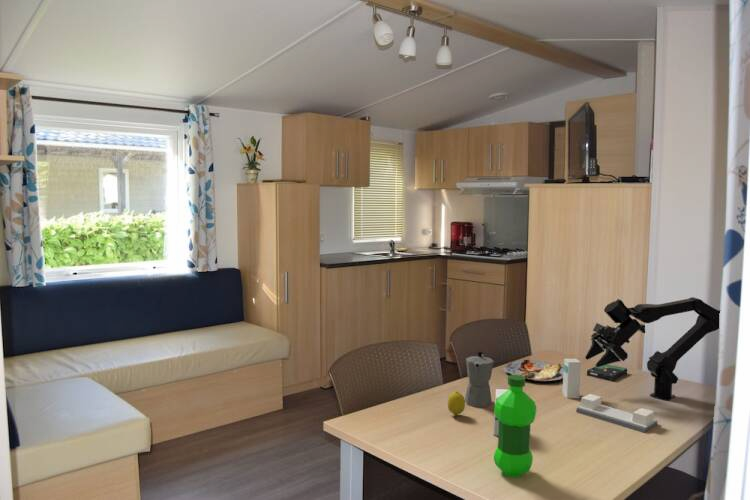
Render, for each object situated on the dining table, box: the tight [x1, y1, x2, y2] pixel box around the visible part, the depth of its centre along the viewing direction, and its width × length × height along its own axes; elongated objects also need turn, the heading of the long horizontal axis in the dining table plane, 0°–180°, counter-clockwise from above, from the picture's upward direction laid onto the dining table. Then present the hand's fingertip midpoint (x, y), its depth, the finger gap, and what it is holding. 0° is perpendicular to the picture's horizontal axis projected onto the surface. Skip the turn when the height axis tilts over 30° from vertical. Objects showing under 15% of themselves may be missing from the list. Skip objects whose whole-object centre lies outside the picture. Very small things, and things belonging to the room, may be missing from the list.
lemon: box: [447, 390, 466, 417], centre depth 186 cm, size 6×6×8 cm
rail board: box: [576, 393, 659, 434], centre depth 187 cm, size 10×22×4 cm, turn 43°
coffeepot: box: [464, 350, 495, 408], centre depth 199 cm, size 15×9×18 cm, turn 162°
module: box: [562, 358, 582, 399], centre depth 206 cm, size 5×4×13 cm
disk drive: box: [586, 364, 628, 382], centre depth 233 cm, size 10×3×15 cm
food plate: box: [503, 358, 564, 383], centre depth 231 cm, size 25×23×4 cm
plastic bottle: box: [493, 374, 537, 478], centre depth 148 cm, size 10×10×25 cm
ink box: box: [493, 388, 509, 437], centre depth 174 cm, size 9×5×12 cm, turn 168°
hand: (591, 362), depth 206 cm, fingers open, 9 cm apart
